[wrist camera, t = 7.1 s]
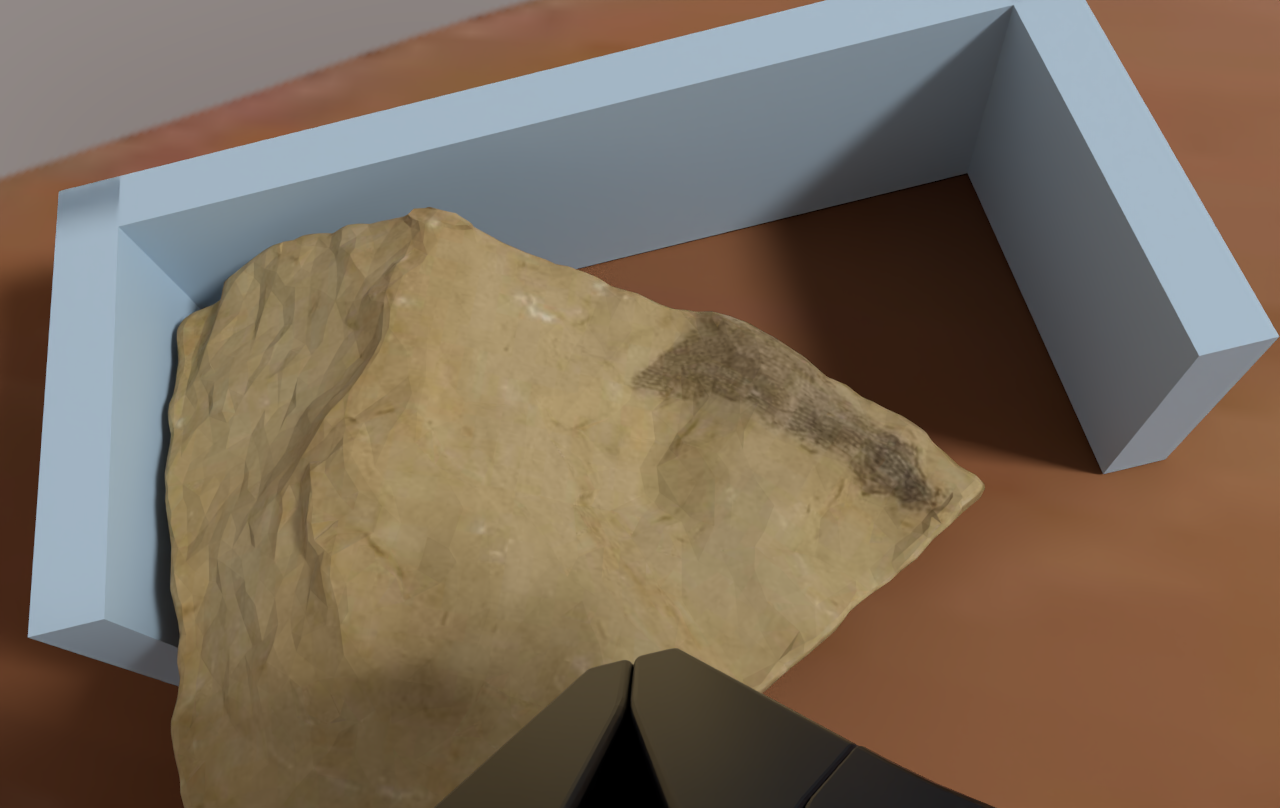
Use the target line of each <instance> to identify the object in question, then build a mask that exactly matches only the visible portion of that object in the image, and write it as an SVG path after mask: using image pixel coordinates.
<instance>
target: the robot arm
mask: <svg viewBox="0 0 1280 808" xmlns="http://www.w3.org/2000/svg"><path fill="white" fill-rule="evenodd" d="M434 808H995V807H993V806H991V805H988V804H986V803H983V802H981V801H978V800H976V799H974V798H971V797H969V796H966V795H964V794H961V793H959V792H957V791H954V790H952V789H949V788H947V787H944V786H942V785H939V784H937V783H935V782H933V781H931V780H929V779H927V778H925V777H923V776H921V775H919V774H916V773H914V772H912V771H910V770H908V769H906V768H904V767H902V766H900V765H898V764H896V763H894V762H892V761H890V760H888V759H886V758H884V757H882V756H880V755H879V754H877V753H875V752H873V751H871V750H869V749H867V748H866V747H863V746H858V745H856V744H855V743H853V742H851V741H849V740H847V739H845V738H843V737H842V736H840V735H838V734H836V733H834V732H832V731H831V730H829V729H827V728H825V727H823V726H821V725H819V724H818V723H816V722H814V721H812V720H810V719H808V718H806V717H805V716H803V715H801V714H799V713H797V712H795V711H793V710H792V709H790V708H788V707H786V706H784V705H782V704H780V703H779V702H777V701H775V700H773V699H771V698H769V697H767V696H766V695H764V694H762V693H760V692H758V691H756V690H754V689H753V688H751V687H749V686H747V685H745V684H743V683H741V682H740V681H738V680H736V679H734V678H732V677H730V676H728V675H727V674H725V673H723V672H721V671H719V670H717V669H715V668H714V667H712V666H710V665H708V664H706V663H704V662H703V661H701V660H699V659H697V658H695V657H693V656H691V655H690V654H688V653H686V652H684V651H682V650H680V649H677V648H671V649H667V650H662V651H658V652H654V653H650V654H646V655H641V656H639V657H637V659H636V660H635V662H634V665H633V664H632V663H631V662H630V661H629V660H621V661H617V662H613V663H609V664H605V665H601V666H597V667H593V668H590V669H588V670H587V671H586V672H584V673H583V674H582V675H581V676H580V677H579V678H578V679H577V680H576V681H574V682H573V683H572V684H571V685H570V686H569V687H568V688H567V689H566V690H564V691H563V692H562V693H561V694H560V695H559V696H558V697H557V698H555V699H554V700H553V701H552V702H551V703H550V704H549V705H548V706H547V707H545V708H544V709H543V710H542V711H541V712H540V713H539V714H538V715H536V716H535V717H534V718H533V719H532V720H531V721H530V722H529V723H528V724H526V725H525V726H524V727H523V728H522V729H521V730H520V731H519V732H518V733H516V734H515V735H514V736H513V737H512V738H511V739H510V740H509V741H507V742H506V743H505V744H504V745H503V746H502V747H501V748H500V749H499V750H497V751H496V752H495V753H494V754H493V755H492V756H491V757H490V758H489V759H487V760H486V761H485V762H484V763H483V764H482V765H481V766H480V767H478V768H477V769H476V770H475V771H474V772H473V773H472V774H471V775H470V776H468V777H467V778H466V779H465V780H464V781H463V782H462V783H461V784H460V785H458V786H457V787H456V788H455V789H454V790H453V791H452V792H451V793H449V794H448V795H447V796H446V797H445V798H444V799H443V800H442V801H441V802H439V803H438V804H437V805H436V806H435V807H434Z"/></svg>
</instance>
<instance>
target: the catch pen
mask: <svg viewBox="0 0 1280 808" xmlns="http://www.w3.org/2000/svg"><path fill="white" fill-rule="evenodd" d="M966 173H968V176H969V178H970V180H971V182H972V184H973V187H974V189H975V191H976V193H977V196H978V198H979V200H980V202H981V204H982V207H983V209H984V211H985V213H986V215H987V218H988V220H989V222H990V224H991V227H992V229H993V231H994V233H995V235H996V238H997V240H998V242H999V244H1000V247H1001V249H1002V251H1003V253H1004V255H1005V258H1006V260H1007V262H1008V264H1009V266H1010V269H1011V271H1012V273H1013V275H1014V278H1015V280H1016V282H1017V284H1018V286H1019V289H1020V291H1021V293H1022V295H1023V297H1024V300H1025V302H1026V304H1027V306H1028V309H1029V311H1030V313H1031V315H1032V317H1033V320H1034V322H1035V324H1036V326H1037V329H1038V331H1039V333H1040V335H1041V337H1042V340H1043V342H1044V344H1045V346H1046V348H1047V351H1048V353H1049V355H1050V357H1051V360H1052V362H1053V364H1054V366H1055V368H1056V371H1057V373H1058V375H1059V377H1060V379H1061V382H1062V384H1063V386H1064V388H1065V391H1066V393H1067V395H1068V397H1069V399H1070V402H1071V404H1072V406H1073V408H1074V411H1075V413H1076V415H1077V417H1078V419H1079V422H1080V424H1081V426H1082V428H1083V430H1084V433H1085V435H1086V437H1087V439H1088V442H1089V444H1090V446H1091V448H1092V450H1093V453H1094V455H1095V457H1096V459H1097V462H1098V464H1099V466H1100V468H1101V470H1102V473H1103V474H1106V473H1110V472H1114V471H1119V470H1123V469H1127V468H1131V467H1135V466H1140V465H1144V464H1148V463H1152V462H1156V461H1160V460H1165V459H1166V458H1167V457H1168V456H1169V455H1170V454H1171V452H1172V451H1173V450H1174V449H1175V448H1176V447H1177V446H1178V445H1179V444H1180V443H1181V442H1182V441H1183V440H1184V438H1185V437H1186V436H1187V435H1188V434H1189V433H1190V432H1191V431H1192V430H1193V429H1194V428H1195V427H1196V426H1197V424H1198V423H1199V422H1200V421H1201V420H1202V419H1203V418H1204V417H1205V416H1206V415H1207V414H1208V413H1209V412H1210V411H1211V409H1212V408H1213V407H1214V406H1215V405H1216V404H1217V403H1218V402H1219V401H1220V400H1221V399H1222V398H1223V397H1224V395H1225V394H1226V393H1227V392H1228V391H1229V390H1230V389H1231V388H1232V387H1233V386H1234V385H1235V384H1236V383H1237V382H1238V380H1239V379H1240V378H1241V377H1242V376H1243V375H1244V374H1245V373H1246V372H1247V371H1248V370H1249V369H1250V368H1251V366H1252V365H1253V364H1254V363H1255V362H1256V361H1257V360H1258V359H1259V358H1260V357H1261V356H1262V355H1263V354H1264V352H1265V351H1266V350H1267V349H1268V348H1269V347H1270V346H1271V345H1272V344H1273V343H1274V342H1275V341H1276V340H1277V339H1278V337H1279V335H1278V334H1277V332H1276V330H1275V329H1274V327H1273V325H1272V323H1271V322H1270V320H1269V318H1268V316H1267V315H1266V313H1265V311H1264V309H1263V308H1262V306H1261V304H1260V302H1259V301H1258V299H1257V297H1256V296H1255V294H1254V292H1253V290H1252V289H1251V287H1250V285H1249V283H1248V282H1247V280H1246V278H1245V276H1244V275H1243V273H1242V271H1241V270H1240V268H1239V266H1238V264H1237V263H1236V261H1235V259H1234V257H1233V256H1232V254H1231V252H1230V250H1229V249H1228V247H1227V245H1226V243H1225V242H1224V240H1223V238H1222V237H1221V235H1220V233H1219V231H1218V230H1217V228H1216V226H1215V224H1214V223H1213V221H1212V219H1211V217H1210V216H1209V214H1208V212H1207V211H1206V209H1205V207H1204V205H1203V204H1202V202H1201V200H1200V198H1199V197H1198V195H1197V193H1196V191H1195V190H1194V188H1193V186H1192V184H1191V183H1190V181H1189V179H1188V178H1187V176H1186V174H1185V172H1184V171H1183V169H1182V167H1181V165H1180V164H1179V162H1178V160H1177V158H1176V157H1175V155H1174V153H1173V151H1172V150H1171V148H1170V146H1169V145H1168V143H1167V141H1166V139H1165V138H1164V136H1163V134H1162V132H1161V131H1160V129H1159V127H1158V125H1157V124H1156V122H1155V120H1154V119H1153V117H1152V115H1151V113H1150V112H1149V110H1148V108H1147V106H1146V105H1145V103H1144V101H1143V99H1142V98H1141V96H1140V94H1139V92H1138V91H1137V89H1136V87H1135V86H1134V84H1133V82H1132V80H1131V79H1130V77H1129V75H1128V73H1127V72H1126V70H1125V68H1124V66H1123V65H1122V63H1121V61H1120V60H1119V58H1118V56H1117V54H1116V53H1115V51H1114V49H1113V47H1112V46H1111V44H1110V42H1109V40H1108V39H1107V37H1106V35H1105V33H1104V32H1103V30H1102V28H1101V27H1100V25H1099V23H1098V21H1097V20H1096V18H1095V16H1094V14H1093V13H1092V11H1091V9H1090V7H1089V6H1088V4H1087V2H1086V0H826V1H822V2H818V3H814V4H810V5H806V6H802V7H798V8H794V9H790V10H786V11H782V12H778V13H774V14H770V15H766V16H762V17H758V18H754V19H750V20H746V21H742V22H738V23H734V24H730V25H726V26H722V27H718V28H714V29H710V30H705V31H701V32H697V33H693V34H689V35H685V36H681V37H677V38H673V39H669V40H665V41H661V42H657V43H653V44H649V45H645V46H641V47H637V48H633V49H629V50H625V51H621V52H617V53H613V54H609V55H605V56H601V57H597V58H593V59H589V60H585V61H581V62H577V63H573V64H569V65H565V66H561V67H557V68H553V69H549V70H545V71H541V72H537V73H533V74H529V75H525V76H521V77H517V78H513V79H509V80H505V81H501V82H496V83H492V84H488V85H484V86H480V87H476V88H472V89H468V90H464V91H460V92H456V93H452V94H448V95H444V96H440V97H436V98H432V99H428V100H424V101H420V102H416V103H412V104H408V105H404V106H400V107H396V108H392V109H388V110H384V111H380V112H376V113H372V114H368V115H364V116H360V117H356V118H352V119H348V120H344V121H340V122H336V123H332V124H328V125H324V126H320V127H316V128H312V129H308V130H304V131H300V132H296V133H292V134H287V135H283V136H279V137H275V138H271V139H267V140H263V141H259V142H255V143H251V144H247V145H243V146H239V147H235V148H231V149H227V150H223V151H219V152H215V153H211V154H207V155H203V156H199V157H195V158H191V159H187V160H183V161H179V162H175V163H171V164H167V165H163V166H159V167H155V168H151V169H147V170H143V171H139V172H135V173H131V174H127V175H123V176H119V177H115V178H111V179H107V180H103V181H99V182H95V183H91V184H87V185H83V186H78V187H74V188H70V189H66V190H62V191H59V198H58V213H57V227H56V241H55V256H54V270H53V284H52V299H51V313H50V327H49V341H48V356H47V370H46V384H45V399H44V413H43V427H42V441H41V456H40V470H39V484H38V499H37V513H36V527H35V542H34V556H33V570H32V584H31V599H30V613H29V627H28V638H31V639H34V640H37V641H40V642H43V643H46V644H50V645H53V646H56V647H59V648H62V649H65V650H68V651H71V652H74V653H77V654H80V655H84V656H87V657H90V658H93V659H96V660H99V661H102V662H105V663H108V664H111V665H114V666H117V667H121V668H124V669H127V670H130V671H133V672H136V673H139V674H142V675H145V676H148V677H151V678H154V679H158V680H161V681H164V682H167V683H170V684H173V685H176V686H179V681H180V676H179V671H178V665H177V654H178V645H179V638H180V633H179V625H178V620H177V616H176V611H175V607H174V603H173V599H172V595H171V591H170V576H171V540H170V533H169V526H168V519H167V511H166V503H165V496H166V487H165V468H166V462H167V455H168V451H169V447H170V439H171V432H170V428H169V421H168V408H169V403H170V401H171V399H172V396H173V393H174V388H175V383H176V373H177V366H178V350H177V329H178V327H179V325H180V323H181V322H182V321H183V319H185V318H186V317H187V316H189V315H190V314H192V313H193V312H196V311H198V310H201V309H203V308H206V307H208V306H211V305H213V304H215V303H216V302H218V301H219V300H220V299H221V295H222V290H223V286H224V282H225V281H226V280H227V279H228V278H229V277H230V276H231V275H233V274H234V273H235V272H237V271H238V270H239V269H240V268H241V267H243V266H244V265H245V264H246V263H248V262H249V261H250V260H252V259H253V258H254V257H256V256H257V255H258V254H260V253H261V252H262V251H264V250H265V249H267V248H269V247H271V246H272V245H275V244H278V243H281V242H284V241H290V240H294V239H296V238H299V237H301V236H303V235H308V234H316V233H334V232H336V231H337V230H339V229H340V228H342V227H344V226H346V225H350V224H371V223H375V222H379V221H384V220H390V219H394V218H399V217H403V216H406V215H408V214H409V213H410V212H411V211H412V210H413V209H415V208H427V207H432V208H436V209H440V210H444V211H448V212H453V213H456V214H458V215H459V216H461V217H462V218H464V219H466V220H467V221H469V222H470V223H471V224H472V225H473V226H474V227H475V228H477V229H479V230H481V231H483V232H485V233H486V234H488V235H490V236H492V237H494V238H496V239H497V240H499V241H501V242H503V243H505V244H508V245H510V246H512V247H515V248H517V249H519V250H521V251H524V252H526V253H529V254H532V255H535V256H537V257H540V258H543V259H546V260H548V261H550V262H552V263H555V264H558V265H564V266H569V267H572V268H574V269H578V268H582V267H586V266H590V265H595V264H599V263H603V262H607V261H611V260H615V259H619V258H623V257H627V256H631V255H635V254H639V253H644V252H648V251H652V250H656V249H660V248H664V247H668V246H672V245H676V244H680V243H684V242H688V241H693V240H697V239H701V238H705V237H709V236H713V235H717V234H721V233H725V232H729V231H733V230H737V229H742V228H746V227H750V226H754V225H758V224H762V223H766V222H770V221H774V220H778V219H782V218H786V217H791V216H795V215H799V214H803V213H807V212H811V211H815V210H819V209H823V208H827V207H831V206H835V205H840V204H844V203H848V202H852V201H856V200H860V199H864V198H868V197H872V196H876V195H880V194H884V193H889V192H893V191H897V190H901V189H905V188H909V187H913V186H917V185H921V184H925V183H929V182H933V181H938V180H942V179H946V178H950V177H954V176H958V175H962V174H966Z"/></svg>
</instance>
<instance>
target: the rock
mask: <svg viewBox="0 0 1280 808" xmlns="http://www.w3.org/2000/svg"><path fill="white" fill-rule="evenodd" d="M177 350H178V366H177V373H176V383H175V388H174V393H173V396H172V399H171V401H170V403H169V408H168V421H169V428H170V432H171V439H170V447H169V451H168V455H167V462H166V468H165V487H166V496H165V503H166V511H167V519H168V526H169V533H170V540H171V576H170V591H171V595H172V599H173V603H174V607H175V611H176V616H177V620H178V625H179V633H180V638H179V645H178V654H177V665H178V671H179V676H180V681H179V689H178V697H177V701H176V704H175V708H174V712H173V716H172V719H171V736H172V743H173V749H174V756H175V760H176V764H177V768H178V773H179V778H180V794H181V798H182V801H183V805H184V808H434V807H435V806H436V805H437V804H438V803H439V802H441V801H442V800H443V799H444V798H445V797H446V796H447V795H448V794H449V793H451V792H452V791H453V790H454V789H455V788H456V787H457V786H458V785H460V784H461V783H462V782H463V781H464V780H465V779H466V778H467V777H468V776H470V775H471V774H472V773H473V772H474V771H475V770H476V769H477V768H478V767H480V766H481V765H482V764H483V763H484V762H485V761H486V760H487V759H489V758H490V757H491V756H492V755H493V754H494V753H495V752H496V751H497V750H499V749H500V748H501V747H502V746H503V745H504V744H505V743H506V742H507V741H509V740H510V739H511V738H512V737H513V736H514V735H515V734H516V733H518V732H519V731H520V730H521V729H522V728H523V727H524V726H525V725H526V724H528V723H529V722H530V721H531V720H532V719H533V718H534V717H535V716H536V715H538V714H539V713H540V712H541V711H542V710H543V709H544V708H545V707H547V706H548V705H549V704H550V703H551V702H552V701H553V700H554V699H555V698H557V697H558V696H559V695H560V694H561V693H562V692H563V691H564V690H566V689H567V688H568V687H569V686H570V685H571V684H572V683H573V682H574V681H576V680H577V679H578V678H579V677H580V676H581V675H582V674H583V673H584V672H586V671H587V670H588V669H590V668H593V667H597V666H601V665H605V664H609V663H613V662H617V661H621V660H629V661H630V662H631V663H632V664H633V665H634V662H635V660H636V659H637V657H639V656H641V655H646V654H650V653H654V652H658V651H662V650H667V649H671V648H677V649H680V650H682V651H684V652H686V653H688V654H690V655H691V656H693V657H695V658H697V659H699V660H701V661H703V662H704V663H706V664H708V665H710V666H712V667H714V668H715V669H717V670H719V671H721V672H723V673H725V674H727V675H728V676H730V677H732V678H734V679H736V680H738V681H740V682H741V683H743V684H745V685H747V686H749V687H751V688H753V689H754V690H756V691H758V692H760V693H763V692H765V691H766V690H767V689H768V688H769V687H770V686H771V685H772V684H773V683H774V682H776V681H777V680H778V679H779V678H780V677H781V676H782V675H783V674H784V673H785V672H787V671H788V670H789V669H790V668H791V667H793V666H794V665H795V664H797V663H798V662H799V661H800V660H802V659H803V658H804V657H805V656H807V655H808V654H809V653H810V652H811V651H812V650H814V649H815V648H816V647H817V646H818V645H819V644H821V643H822V642H823V641H824V640H825V639H826V638H827V637H829V636H830V635H831V634H832V633H833V632H834V631H835V630H836V629H837V628H838V626H839V625H840V624H841V622H842V621H843V620H844V618H845V617H846V616H847V614H848V613H849V612H850V611H851V610H852V609H853V608H854V607H855V606H856V605H858V604H859V603H860V602H861V601H862V600H863V599H865V598H866V597H867V596H869V595H870V594H872V593H873V592H874V591H876V590H877V589H879V588H880V587H882V586H883V585H885V584H886V583H888V582H889V581H891V580H892V579H893V578H894V577H895V576H896V575H897V574H898V573H899V572H900V571H901V570H903V569H904V568H905V567H907V566H908V565H909V564H910V563H912V562H913V561H914V560H916V559H917V558H918V556H919V555H920V554H921V553H922V552H923V551H924V549H925V548H926V547H927V546H928V545H929V544H930V542H931V541H932V540H933V539H934V538H935V537H936V536H937V535H939V534H940V533H941V532H942V531H943V530H944V529H946V528H947V527H948V526H949V525H950V524H951V523H952V522H953V521H954V520H955V519H956V518H957V517H958V516H959V515H960V514H961V513H962V512H964V511H965V510H966V509H967V508H968V507H970V506H971V505H972V504H973V503H974V502H976V501H977V500H978V499H979V498H980V497H981V495H982V493H983V491H984V489H985V486H984V483H983V482H982V481H981V480H980V479H979V478H978V477H977V476H976V475H974V474H973V473H971V472H969V471H967V470H966V469H964V468H962V467H960V466H959V465H958V464H956V463H955V462H954V461H953V460H952V459H951V458H950V457H949V456H948V455H947V454H946V453H945V452H943V451H942V450H941V449H940V448H939V447H938V446H937V445H935V444H934V443H933V442H932V440H931V439H930V437H929V436H928V434H927V433H926V432H925V431H924V430H923V429H921V428H920V427H918V426H917V425H916V424H914V423H913V422H911V421H910V420H908V419H906V418H905V417H903V416H901V415H899V414H897V413H895V412H893V411H890V410H888V409H886V408H884V407H882V406H880V405H878V404H876V403H875V402H873V401H870V400H868V399H866V398H864V397H861V396H860V395H859V394H857V393H856V392H855V391H854V390H852V389H851V388H850V387H848V386H847V385H845V384H843V383H841V382H838V381H836V380H834V379H831V378H829V377H827V376H825V375H824V374H823V373H822V372H821V371H820V370H819V369H817V368H816V367H815V366H814V365H813V364H812V363H811V362H809V361H808V360H807V359H806V358H805V357H803V356H802V355H800V354H799V353H797V352H796V351H794V350H793V349H791V348H790V347H788V346H787V345H785V344H784V343H782V342H781V341H779V340H778V339H776V338H774V337H772V336H771V335H769V334H767V333H765V332H763V331H762V330H760V329H758V328H756V327H754V326H753V325H751V324H749V323H747V322H745V321H742V320H739V319H736V318H733V317H731V316H728V315H724V314H720V313H716V312H712V311H711V312H695V311H689V310H677V309H672V308H669V307H666V306H663V305H660V304H658V303H656V302H654V301H652V300H650V299H648V298H646V297H644V296H642V295H640V294H638V293H634V292H630V291H626V290H623V289H620V288H616V287H613V286H610V285H608V284H607V283H605V282H604V281H602V280H601V279H599V278H597V277H595V276H592V275H590V274H588V273H585V272H582V271H580V270H577V269H574V268H572V267H569V266H564V265H558V264H555V263H552V262H550V261H548V260H546V259H543V258H540V257H537V256H535V255H532V254H529V253H526V252H524V251H521V250H519V249H517V248H515V247H512V246H510V245H508V244H505V243H503V242H501V241H499V240H497V239H496V238H494V237H492V236H490V235H488V234H486V233H485V232H483V231H481V230H479V229H477V228H475V227H474V226H473V225H472V224H471V223H470V222H469V221H467V220H466V219H464V218H462V217H461V216H459V215H458V214H456V213H453V212H448V211H444V210H440V209H436V208H432V207H427V208H415V209H413V210H412V211H411V212H410V213H409V214H408V215H406V216H403V217H399V218H394V219H390V220H384V221H379V222H375V223H371V224H350V225H346V226H344V227H342V228H340V229H339V230H337V231H336V232H334V233H316V234H308V235H303V236H301V237H299V238H296V239H294V240H290V241H284V242H281V243H278V244H275V245H272V246H271V247H269V248H267V249H265V250H264V251H262V252H261V253H260V254H258V255H257V256H256V257H254V258H253V259H252V260H250V261H249V262H248V263H246V264H245V265H244V266H243V267H241V268H240V269H239V270H238V271H237V272H235V273H234V274H233V275H231V276H230V277H229V278H228V279H227V280H226V281H225V282H224V286H223V290H222V295H221V299H220V300H219V301H218V302H216V303H215V304H213V305H211V306H208V307H206V308H203V309H201V310H198V311H196V312H193V313H192V314H190V315H189V316H187V317H186V318H185V319H183V321H182V322H181V323H180V325H179V327H178V329H177Z"/></svg>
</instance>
